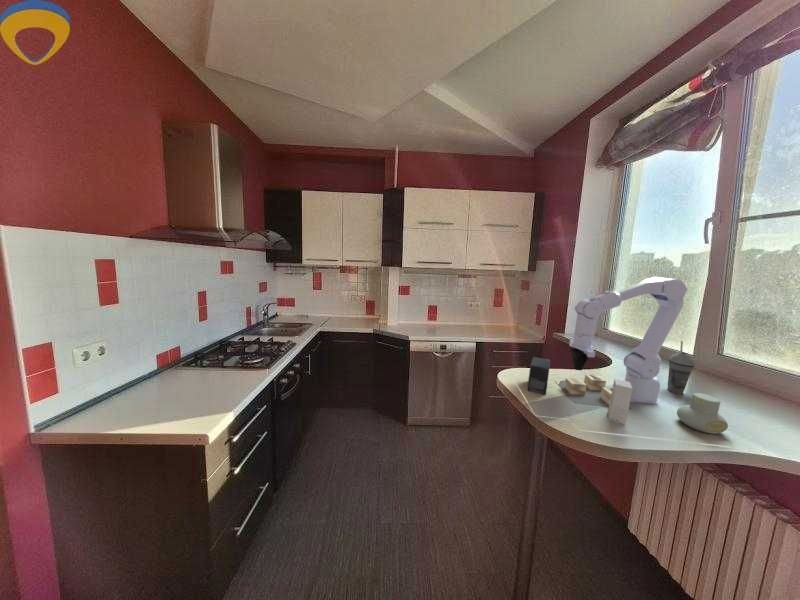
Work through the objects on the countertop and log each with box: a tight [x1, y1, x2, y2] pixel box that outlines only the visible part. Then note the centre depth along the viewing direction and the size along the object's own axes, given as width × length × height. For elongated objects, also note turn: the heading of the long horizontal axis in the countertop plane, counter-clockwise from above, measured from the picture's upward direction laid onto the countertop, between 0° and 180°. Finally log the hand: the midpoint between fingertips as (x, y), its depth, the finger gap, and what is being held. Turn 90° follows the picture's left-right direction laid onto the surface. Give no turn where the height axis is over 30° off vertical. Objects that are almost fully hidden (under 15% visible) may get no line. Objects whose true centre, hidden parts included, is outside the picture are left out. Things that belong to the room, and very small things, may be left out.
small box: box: [527, 356, 551, 396], centre depth 111 cm, size 11×6×10 cm, turn 152°
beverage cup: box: [667, 340, 695, 395], centre depth 114 cm, size 7×7×20 cm
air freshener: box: [676, 392, 729, 435], centre depth 90 cm, size 11×8×10 cm
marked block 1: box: [583, 373, 607, 391], centre depth 114 cm, size 5×5×4 cm
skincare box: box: [607, 378, 633, 425], centre depth 92 cm, size 6×4×12 cm
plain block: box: [564, 377, 587, 395], centre depth 109 cm, size 5×5×4 cm
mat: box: [558, 379, 632, 410], centre depth 109 cm, size 18×19×1 cm
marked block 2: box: [600, 386, 613, 405], centre depth 103 cm, size 5×5×4 cm
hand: (577, 369), depth 108 cm, fingers closed
